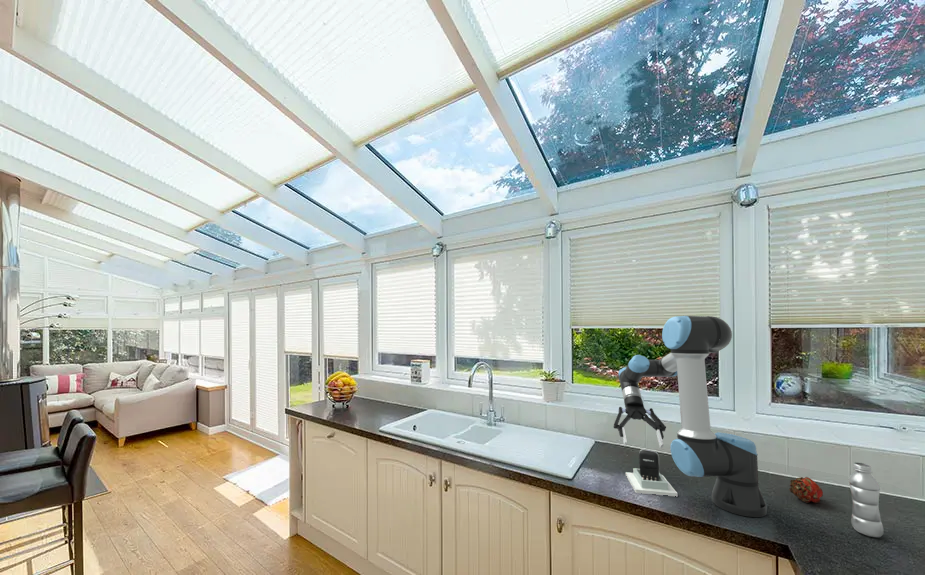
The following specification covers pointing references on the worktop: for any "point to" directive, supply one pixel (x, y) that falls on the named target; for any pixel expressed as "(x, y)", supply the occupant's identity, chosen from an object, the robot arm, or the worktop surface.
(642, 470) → the black battery charger
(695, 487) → the worktop surface
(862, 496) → the plastic bottle
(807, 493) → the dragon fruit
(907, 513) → the worktop surface
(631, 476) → the tray
